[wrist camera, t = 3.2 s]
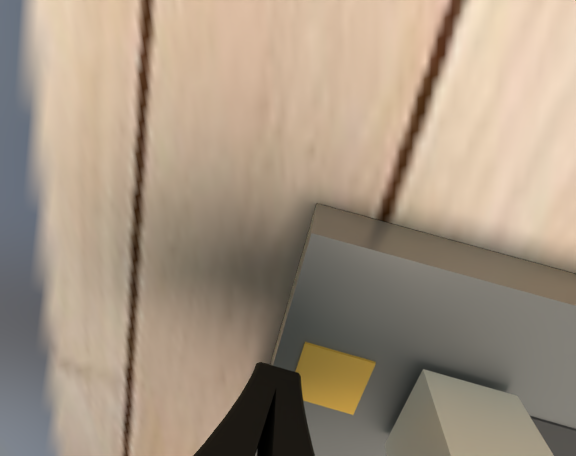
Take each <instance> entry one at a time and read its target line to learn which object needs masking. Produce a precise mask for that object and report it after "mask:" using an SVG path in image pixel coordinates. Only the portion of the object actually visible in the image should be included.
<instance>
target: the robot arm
mask: <svg viewBox="0 0 576 456" xmlns="http://www.w3.org/2000/svg"><path fill="white" fill-rule="evenodd" d="M256 452H257V456H315V453H314V450H313V446H312V441H311V437H310V433H309V428H308V424H307V419H306V414H305V408H304V402H303V395H302V386H301V376H300V374H299V373H297V372H294V371H290V370H287V369H283V368H280V367H276V366H273V365H269V364H266V363H262V362H260V363H257V364H256V366H255V369H254V371H253V374H252V376H251V378H250V379H249V381H248V383H247V385H246V386H245V388H244V390H243V391H242V393H241V395H240V396H239V398H238V399H237V401H236V402H235V403H234V405H233V406H232V408H231V409H230V411H229V412H228V414H227V415H226V416H225V418H224V419H223V420H222V422H221V423H220V424H219V425H218V427H217V428H216V429H215V430H214V432H213V433H212V434H211V435H210V437H209V438H208V439H207V440H206V442H205V443H204V444H203V445H202V446H201V448H200V449H199V450H198V451H197V452H196V453H195V454H194V456H255V455H256Z"/></svg>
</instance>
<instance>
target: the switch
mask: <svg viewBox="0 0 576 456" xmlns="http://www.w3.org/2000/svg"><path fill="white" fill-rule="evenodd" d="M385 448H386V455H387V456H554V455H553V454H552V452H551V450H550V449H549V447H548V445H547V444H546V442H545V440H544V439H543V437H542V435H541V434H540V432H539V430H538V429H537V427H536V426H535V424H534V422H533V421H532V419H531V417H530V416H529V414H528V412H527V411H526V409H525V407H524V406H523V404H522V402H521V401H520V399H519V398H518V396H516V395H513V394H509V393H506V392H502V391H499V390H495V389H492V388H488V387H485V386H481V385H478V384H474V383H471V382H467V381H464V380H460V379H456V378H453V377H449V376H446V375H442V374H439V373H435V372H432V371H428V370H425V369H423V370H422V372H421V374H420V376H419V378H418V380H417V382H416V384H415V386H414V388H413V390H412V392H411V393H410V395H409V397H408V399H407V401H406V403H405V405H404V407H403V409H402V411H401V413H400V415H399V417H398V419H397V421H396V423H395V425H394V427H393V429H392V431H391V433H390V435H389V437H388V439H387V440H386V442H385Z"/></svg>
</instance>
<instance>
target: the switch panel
mask: <svg viewBox="0 0 576 456" xmlns="http://www.w3.org/2000/svg"><path fill="white" fill-rule="evenodd" d="M270 365H273V366H276V367H280V368H283V369H287V370H290V371H294V372H297V373H299V374H300V376H301V386H302V395H303V402H304V408H305V414H306V419H307V424H308V428H309V433H310V437H311V441H312V446H313V450H314V453H315V456H387V455H386V448H385V442H386V440H387V439H388V437H389V435H390V433H391V431H392V429H393V427H394V425H395V423H396V421H397V419H398V417H399V415H400V413H401V411H402V409H403V407H404V405H405V403H406V401H407V399H408V397H409V395H410V393H411V392H412V390H413V388H414V386H415V384H416V382H417V380H418V378H419V376H420V374H421V372H422V370H423V369H425V370H428V371H432V372H435V373H439V374H442V375H446V376H449V377H453V378H456V379H460V380H464V381H467V382H471V383H474V384H478V385H481V386H485V387H488V388H492V389H495V390H499V391H502V392H506V393H509V394H513V395H516V396H518V398H519V399H520V401H521V402H522V404H523V406H524V407H525V409H526V411H527V412H528V414H529V416H530V417H531V419H532V421H533V422H534V424H535V426H536V427H537V429H538V430H539V432H540V434H541V435H542V437H543V439H544V440H545V442H546V444H547V445H548V447H549V449H550V450H551V452H552V454H553V455H554V456H576V274H574V273H570V272H567V271H563V270H559V269H556V268H552V267H548V266H545V265H541V264H537V263H534V262H530V261H526V260H523V259H519V258H515V257H512V256H508V255H504V254H501V253H497V252H493V251H490V250H486V249H482V248H479V247H475V246H471V245H468V244H464V243H460V242H457V241H453V240H449V239H446V238H442V237H438V236H434V235H431V234H427V233H423V232H420V231H416V230H412V229H409V228H405V227H401V226H398V225H394V224H390V223H387V222H383V221H379V220H376V219H372V218H368V217H365V216H361V215H357V214H354V213H350V212H346V211H343V210H339V209H335V208H332V207H328V206H324V205H321V204H316V207H315V211H314V214H313V218H312V221H311V225H310V228H309V232H308V235H307V239H306V242H305V246H304V249H303V252H302V256H301V259H300V263H299V266H298V270H297V273H296V277H295V280H294V284H293V287H292V291H291V294H290V297H289V301H288V304H287V308H286V311H285V315H284V318H283V322H282V325H281V329H280V332H279V336H278V339H277V343H276V346H275V349H274V353H273V356H272V360H271V363H270ZM255 456H257V452H256V455H255Z"/></svg>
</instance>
